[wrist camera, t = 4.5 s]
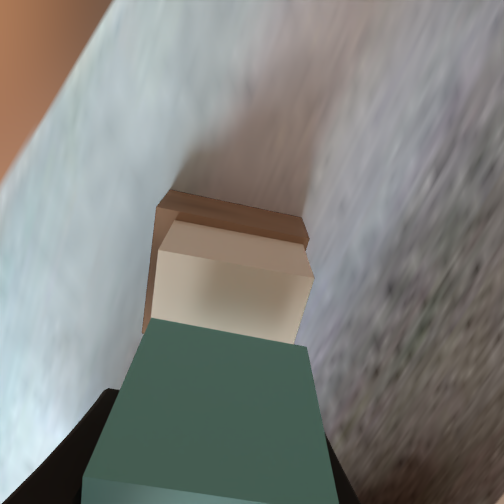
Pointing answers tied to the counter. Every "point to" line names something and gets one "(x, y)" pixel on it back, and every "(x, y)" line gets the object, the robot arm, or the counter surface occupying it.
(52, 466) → the robot arm
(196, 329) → the teal block
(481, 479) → the counter surface
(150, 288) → the walnut base slab
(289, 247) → the cream middle slab
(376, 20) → the counter surface
